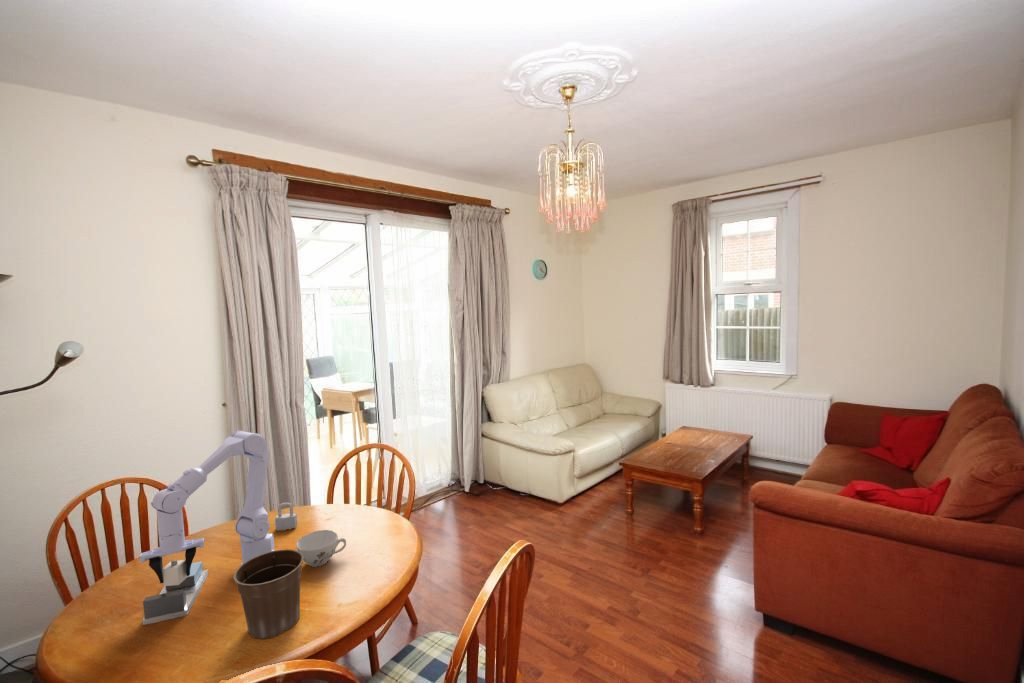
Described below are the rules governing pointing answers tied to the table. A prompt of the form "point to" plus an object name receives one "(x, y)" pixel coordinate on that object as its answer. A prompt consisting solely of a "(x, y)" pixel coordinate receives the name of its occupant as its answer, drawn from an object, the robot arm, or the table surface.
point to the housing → (174, 573)
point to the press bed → (189, 599)
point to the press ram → (192, 578)
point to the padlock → (286, 518)
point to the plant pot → (270, 591)
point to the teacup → (319, 547)
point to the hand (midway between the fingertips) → (175, 577)
